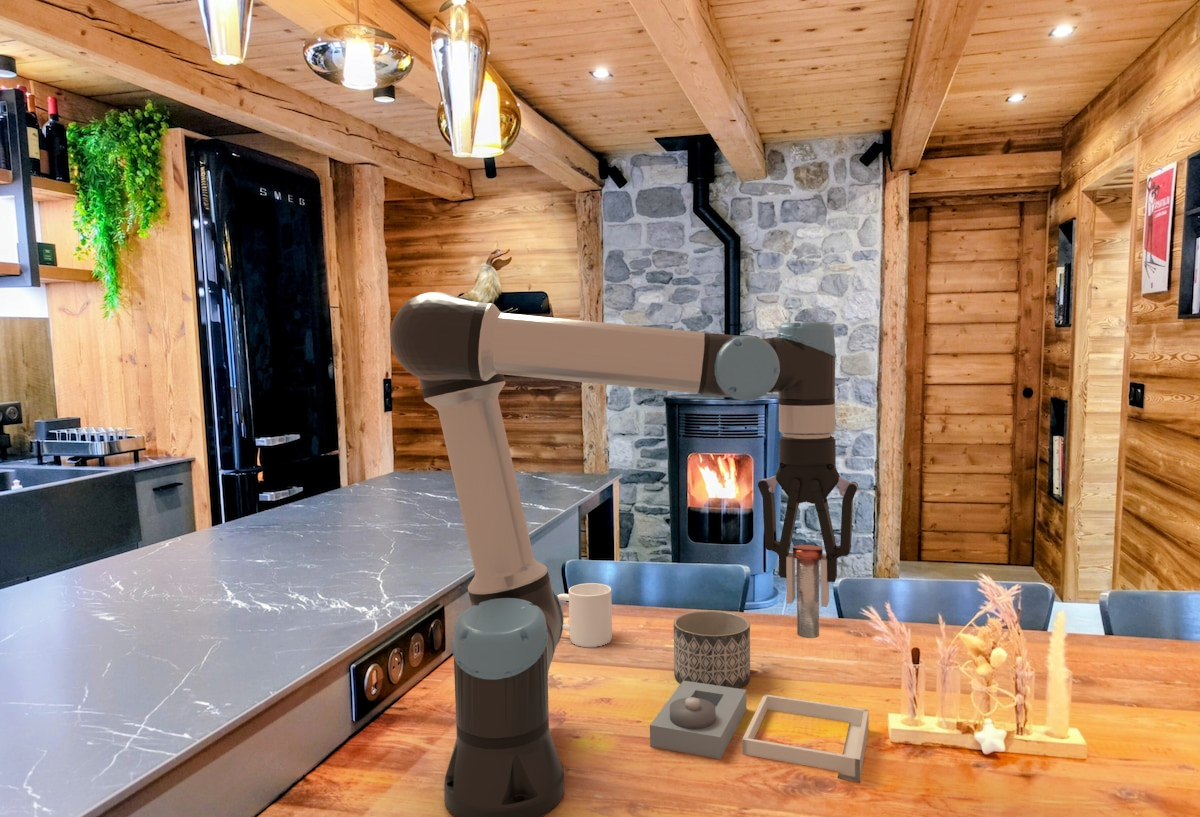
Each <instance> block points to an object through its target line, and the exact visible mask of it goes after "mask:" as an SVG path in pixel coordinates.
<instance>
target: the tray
mask: <svg viewBox="0 0 1200 817" xmlns="http://www.w3.org/2000/svg"><path fill="white" fill-rule="evenodd" d="M767 711H774V712H780V713H781V712H782V713H787V714H793V715H800V716H806V717H807V716H808V717H813V718H814V717H815V718H821V719H825V720H826V719H827V720H833V721H840V722H846V723H848V726H847V727H848V728H847V733H846V737H845V742H844V746H843V750H842V753H837V752H832V751H831V752H830V751H824V750H821V749H820V750H819V749H813V748H809V747H808V748H807V747H802V746H797V745H796V746H795V745H790V744H789V745H788V744H783V743H779V742H778V743H777V742H773V741H772V742H771V741H767V740H761V739H755V737H756V735H757V733H758V731H759V729H760V726H761V725H762V722H763V720H764V718H765V715H766V713H767ZM869 712H870V710H869V709H865V708H861V707H860V708H859V707H852V706H847V705H840V704H834V703H833V704H831V703H825V702H821V701H820V702H818V701H811V700H807V699H805V700H804V699H801V698H800V699H798V698H793V697H785V696H779V695H772V694H771V695H770V694H767V693H766V694H763V696H762V698H761V700H760V702H759V704H758V706H757V709H756V710H755V713H754V714H753V715H752V719H751V720H750V723H749V725H748V727H747V729H746V731H745V733H744V735H743V736H742V740H741V742H742V743H741V744H742V745H741V746H742V747H741V748H742V750H741V751H742V752H741V753H742V755H746V756H752V757H756V758H761V759H762V758H763V759H768V760H772V761H773V760H774V761H779V762H783V763H784V762H785V763H789V764H795V765H801V766H802V765H803V766H808V767H812V768H813V767H814V768H819V769H823V770H830V771H834V772H838V773H837V776H836V777H837V779H839V780H845V781H851V782H857V783H861V779H862V778H861V776H862V771H863V765H864V759H865V753H866V746H867V742H868V734H869V728H870V727H869V718H870V717H869V714H870V713H869Z"/></svg>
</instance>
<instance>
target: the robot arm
mask: <svg viewBox="0 0 1200 817" xmlns="http://www.w3.org/2000/svg"><path fill="white" fill-rule="evenodd" d="M834 330H835V329H834V327H833V326H832V325H831V324H830V323H828V322H825V321H805V322H802V321H801V322H784V323H781V324H780V325H779V326H778V329H777V333H776V336H774V337H773V336H772V337H767V338H760V336H757V335H751V334H740V335H733V334H723V333H715V332H714V333H712V332H711V333H708V332H704V331H702V332H701V331H693V330H681V329H673V328H663V327H655V326H654V327H652V326H643V325H633V324H631V325H630V324H621V323H611V322H600V321H590V320H580V319H569V318H561V317H559V318H558V317H551V316H550V317H549V316H538V315H529V314H528V315H527V314H520V313H519V314H518V313H507V312H502V311H501V310H499V308H498V307H497V306H496V304H494V303H491V302H481V301H474V299H469V298H466V297H463V296H456V295H453V294H450V293H446V292H439V291H435V292H433V291H432V292H431V291H430V292H425V293H421V294H418V295H416V296H413V297H412V298H410V299H409V300H407V301H406V302H404V304H403V305H402V306H401V307H400V308H399V309H398V311H397V312H396V314H395V316H394V317H393V320H392V323H391V327H390V332H389V333H390V336H389V337H390V346H391V350H392V352H393V354H394V356H395V358H396V360H397V362H398V363H399V365H400V366H401V367H402V368H403V369H404V370H405V371H406V372H408V373H409V374H411V375H412V376H413V377H416V378H418V379H419V380H418V381H419V384H420V389H421V392H422V397H423V401H424V402H426V403H427V404H429V405H430V406H432V407H433V408H434V409H436V411H437V412H438V416H439V421H440V426H441V430H442V434H443V439H444V443H445V448H446V451H447V455H448V462H449V464H450V468H451V474H452V477H453V482H454V486H455V491H456V495H457V500H458V504H459V507H460V508H459V509H460V512H461V516H462V521H463V525H464V530H465V535H466V540H467V542H468V544H467V545H468V546H469V552H470V556H471V560H472V564H473V569H474V576H473V578H472V580H471V582H469V584H468V586H467V591H468V595H469V600H470V605H471V606H469V607H468V608H467V609H466V610H464V611H463V612H461V613H460V615H458V617H457V619H456V621H455V624H454V626H453V637H452V641H451V646H452V655H453V669H454V672H453V673H454V674H453V675H454V696H455V697H454V700H455V723H456V727H455V728H456V739H455V742H454V746H453V750H452V753H451V756H450V759H449V763H448V766H447V769H446V773H445V776H444V781H443V782H444V783H443V792H444V793H443V795H444V804H445V807H446V808H447V810H448V811H449V812H450V814H452V816H454V817H542V816H545V815H546V814H548V813H549V812H551V811H552V810H553V809H555V807H556V806H558V804H559V803H560V802H561V800H562V798H563V797H564V794H565V793H564V792H565V773H564V768H563V764H562V763H561V760H560V757H559V753H558V751H557V748H556V745H555V742H554V739H553V737H552V734H551V731H550V719H549V718H550V716H549V713H550V712H549V670H550V667H551V663H552V660H553V659H554V655H555V651H556V649H557V647H558V645H559V643H560V640H561V638H562V634H563V631H564V630H563V623H564V611H563V607H562V603H561V600H559V598H558V596H557V595H558V594H557V593H556V592H555V590H554V589H553V587H552V582H551V579H550V574H549V570H548V568H547V567H548V566H546V565H544V564H543V563H541V562H540V561H538V560H536V559H535V556H534V551H533V547H532V543H531V539H530V534H529V530H528V525H527V521H526V517H525V511H524V507H523V504H522V499H521V493H520V491H519V490H520V488H519V486H518V482H517V477H516V472H515V469H514V463H513V459H512V455H511V449H510V446H509V441H508V437H507V432H506V429H505V423H504V419H503V415H502V411H501V406H500V405H501V404H500V401H499V396H500V393H501V391H502V390H503V389H504V387H505V385H506V378H505V375H506V376H517V377H527V378H537V379H547V380H555V381H556V380H557V381H565V382H577V383H586V384H587V383H588V384H596V385H607V386H617V387H618V386H619V387H626V388H639V389H645V390H646V389H649V390H656V391H657V390H658V391H666V392H667V391H669V392H677V393H686V394H700V395H703V396H705V395H706V396H715V397H724V398H732V399H733V400H737V401H754V400H755V401H756V400H758V399H760V398H761V397H763V396H765V395H767V394H770V393H778V432H779V433H781V434H783V435H782V436H780V438H779V439H778V460H779V463H778V465H779V466H778V469H777V471H776V472H775V475H773V476H771V477H769V478H768V477H765V478H762V479H761V480H759V481H758V483H757V487H758V489H759V490H758V491H759V492H760V494H761V497H762V509H763V510H762V511H763V512H762V513H763V528H764V547H765V549H766V550H768V551H772V552H773V553H776V554H777V556H778V575H779V577H780V578H781V579H786V604H790V605H792V604H793V603H794V601H795V599H796V558H794V557H793V552H790V549H791V544H792V538H793V534H794V528H795V524H796V520H797V514H798V511H799V506H800V504H801V503H802V504H803V503H809V504H813V505H814V506H815V510H816V512H817V513H816V514H817V517H818V522H819V526H820V531H821V532H820V533H821V537H822V541H823V545H824V546H823V547H824V550H825V554H823V558H822V559H820V607H821V608H822V607H823V608H828V605H829V602H830V582H831V583H835V582H836V580H837V577H838V559H839V558H841V557H843V556H844V557H847V556H849V555H850V552H851V550H852V538H853V537H852V533H853V509H854V497H855V495H856V493H857V491H858V490H859V489H858V488H859V484H858V482H856V481H848V480H846V479H844V478H841V477H840V474H839V472H838V470H837V466H836V464H837V463H836V460H837V458H836V457H837V456H836V451H837V450H836V447H837V446H836V439H835V437H834V436H832V434H834V433H835V432H836V431H837V430H836V426H837V425H836V398H835V397H836V358H837V354H836V344H835V342H836V341H835V331H834ZM777 485H779V486H780V487H781V489H782V490H783V492H784V493H785V494H786V496H787V497H788V498H787V503H786V511H785V515H784V520H783V525H782V530H781V535H780V539H779V541H778V539H777V520H776V519H777V518H776V497H775V492H776V491H777ZM836 486H837V487H838V488H839V489H838V490H839V491H838V492H839V495H840V497H841V496H842V501H841V516H840V517H841V518H840V519H841V520H840V543H839V544H840V545H837V543H836V542H837V541H836V538H835V533H834V528H833V524H832V519H831V515H830V510H829V503H828V498H827V497H828V496H830V494H831V492H832V491H833V490H834V488H835V487H836Z"/></svg>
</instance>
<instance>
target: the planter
mask: <svg viewBox="0 0 1200 817" xmlns="http://www.w3.org/2000/svg"><path fill="white" fill-rule="evenodd" d="M673 655H674V656H673V662H674V663H673V665H674V666H673V670H674V671H673V673H674V675H673V676H674V679H675V680H676V682H678V683H679V685H680V684H681V683H682V681H690V682H697V683H704V684H710V685H717V686H724V687H731V688H738V689H742V688H744V687H747V685H748V684H749V683H750V680H751V623H750V621H749V620H748V618H746V617H744V616H743V615H740V614H738V613H734V612H730V611H724V610H715V609H714V610H713V609H712V610H708V609H707V610H706V609H705V610H704V609H703V610H695V611H689V612H684V613H683V614H679V615H677V616H676V617H675V619H674V620H673Z"/></svg>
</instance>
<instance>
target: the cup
mask: <svg viewBox="0 0 1200 817" xmlns="http://www.w3.org/2000/svg"><path fill="white" fill-rule="evenodd" d="M557 596H558V598H559V600H560V601H566V602H568V612H569V613H568V616H569V619H568V622H569V623H564V622H563V630H562V631H567V632H569V640H570V642H571V643H572V644H573V645H574V644H575V645H574V646H577V647H580V646H581V648H598V647H597V646H600V647H603V646H602V645H604V646H606V645H607V643H608V644H609V643H610V642H611V641H612V638H613V616H612V614H613V613H612V612H613V611H612V610H613V609H612V608H613V607H612V606H613V605H612V587H611V586H609V585H607V584H605V583H596V582H595V583H594V582H590V583H587V582H586V583H579V584H576V585H573V586H571V587H569V588H568V593H560V594H557ZM605 644H606V645H605Z"/></svg>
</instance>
